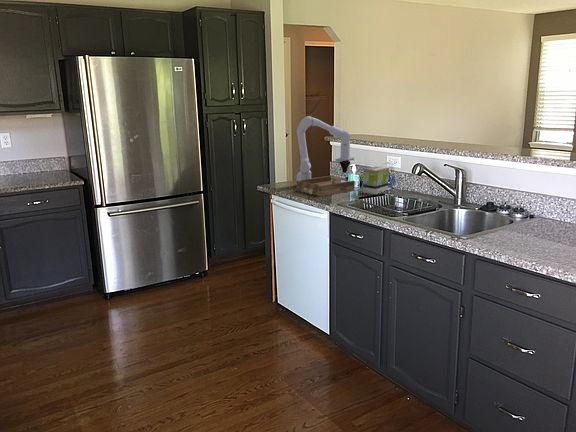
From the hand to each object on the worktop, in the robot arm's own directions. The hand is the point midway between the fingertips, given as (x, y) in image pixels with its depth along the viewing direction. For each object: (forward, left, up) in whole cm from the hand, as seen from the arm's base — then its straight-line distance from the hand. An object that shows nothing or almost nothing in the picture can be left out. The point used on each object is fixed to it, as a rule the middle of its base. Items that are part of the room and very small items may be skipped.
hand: (344, 172), depth 323 cm
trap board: (0, -16, -9) cm, 19 cm away
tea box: (+22, +5, -10) cm, 25 cm away
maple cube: (0, -7, -6) cm, 9 cm away
